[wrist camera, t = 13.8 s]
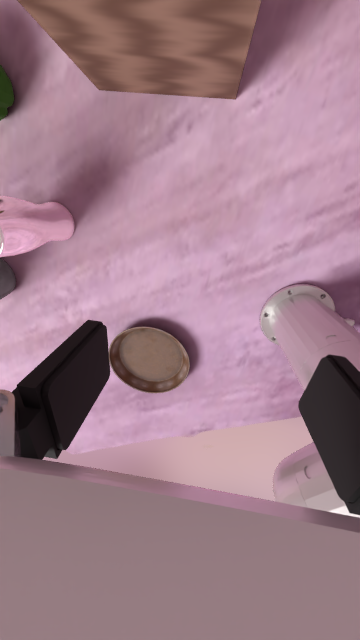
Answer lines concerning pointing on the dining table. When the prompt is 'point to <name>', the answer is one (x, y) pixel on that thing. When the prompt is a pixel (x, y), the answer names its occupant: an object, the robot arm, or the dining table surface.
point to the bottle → (6, 279)
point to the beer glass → (31, 225)
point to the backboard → (153, 42)
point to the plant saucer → (149, 359)
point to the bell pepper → (5, 93)
